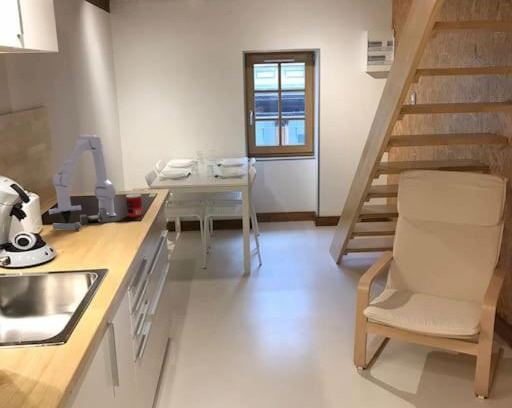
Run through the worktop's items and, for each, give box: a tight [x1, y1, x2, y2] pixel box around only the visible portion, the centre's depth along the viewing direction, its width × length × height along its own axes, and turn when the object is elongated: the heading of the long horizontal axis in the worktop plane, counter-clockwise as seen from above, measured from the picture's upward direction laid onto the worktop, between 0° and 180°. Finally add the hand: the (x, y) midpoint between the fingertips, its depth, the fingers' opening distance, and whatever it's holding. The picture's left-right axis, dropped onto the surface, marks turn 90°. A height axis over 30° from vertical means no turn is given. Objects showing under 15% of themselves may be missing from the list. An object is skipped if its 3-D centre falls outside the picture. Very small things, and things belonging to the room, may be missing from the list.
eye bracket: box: [97, 207, 111, 224], centre depth 262 cm, size 6×5×6 cm
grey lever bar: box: [52, 221, 81, 231], centre depth 249 cm, size 14×2×3 cm, turn 80°
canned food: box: [125, 193, 144, 218], centre depth 271 cm, size 8×8×11 cm
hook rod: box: [79, 213, 111, 226], centre depth 261 cm, size 4×14×4 cm, turn 117°
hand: (67, 226), depth 251 cm, fingers closed
